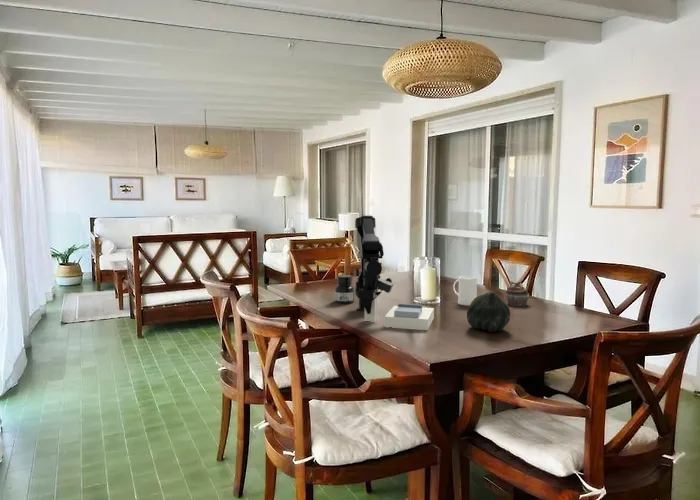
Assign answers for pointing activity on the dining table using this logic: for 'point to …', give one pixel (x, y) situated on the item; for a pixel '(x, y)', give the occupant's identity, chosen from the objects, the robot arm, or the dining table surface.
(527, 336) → the dining table surface
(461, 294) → the mug
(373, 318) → the peg
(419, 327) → the socket block
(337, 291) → the ink bottle
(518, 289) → the cupcake
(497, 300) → the squash
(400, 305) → the panel
